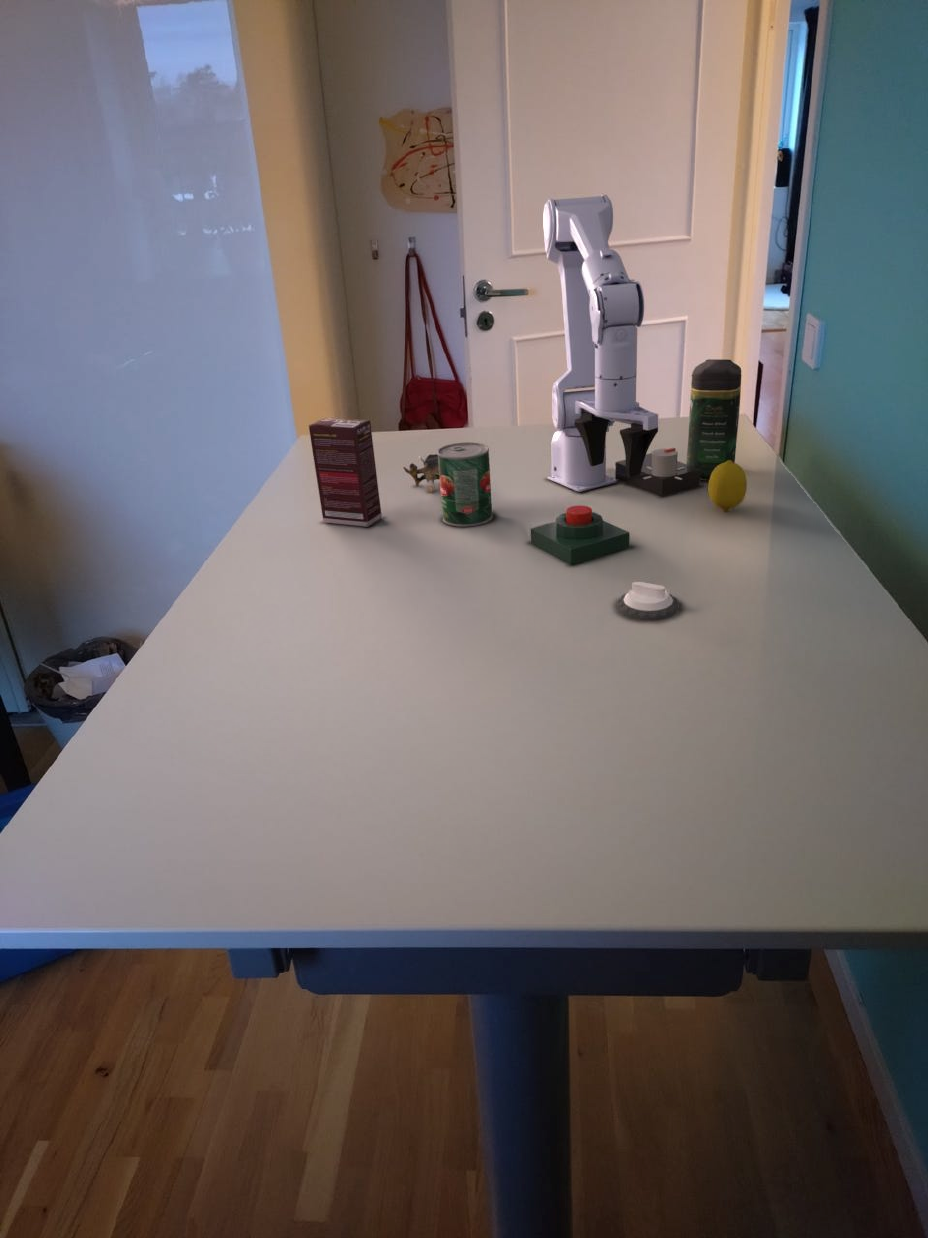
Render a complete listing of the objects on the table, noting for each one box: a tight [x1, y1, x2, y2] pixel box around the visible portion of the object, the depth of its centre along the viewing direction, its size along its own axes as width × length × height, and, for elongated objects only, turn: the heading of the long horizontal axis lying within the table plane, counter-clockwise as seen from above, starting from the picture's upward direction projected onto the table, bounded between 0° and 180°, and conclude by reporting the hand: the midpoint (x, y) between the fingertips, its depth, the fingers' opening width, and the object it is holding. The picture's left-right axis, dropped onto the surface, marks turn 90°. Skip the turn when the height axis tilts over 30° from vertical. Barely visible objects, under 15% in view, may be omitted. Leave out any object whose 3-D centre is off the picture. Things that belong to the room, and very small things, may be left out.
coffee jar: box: [686, 358, 742, 481], centre depth 148 cm, size 10×8×19 cm
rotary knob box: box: [614, 452, 701, 498], centre depth 148 cm, size 14×10×3 cm
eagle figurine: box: [403, 453, 440, 493], centre depth 153 cm, size 8×7×9 cm
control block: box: [530, 511, 630, 566], centre depth 127 cm, size 10×10×4 cm
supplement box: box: [308, 417, 382, 528], centre depth 140 cm, size 9×5×16 cm, turn 65°
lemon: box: [707, 460, 748, 513], centre depth 134 cm, size 6×6×8 cm
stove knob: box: [617, 581, 680, 622], centre depth 108 cm, size 7×7×3 cm
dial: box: [651, 447, 679, 477], centre depth 143 cm, size 4×4×4 cm
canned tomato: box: [436, 441, 494, 528], centre depth 138 cm, size 8×8×11 cm
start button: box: [565, 504, 593, 525], centre depth 126 cm, size 4×4×2 cm
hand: (614, 469), depth 131 cm, fingers open, 7 cm apart
